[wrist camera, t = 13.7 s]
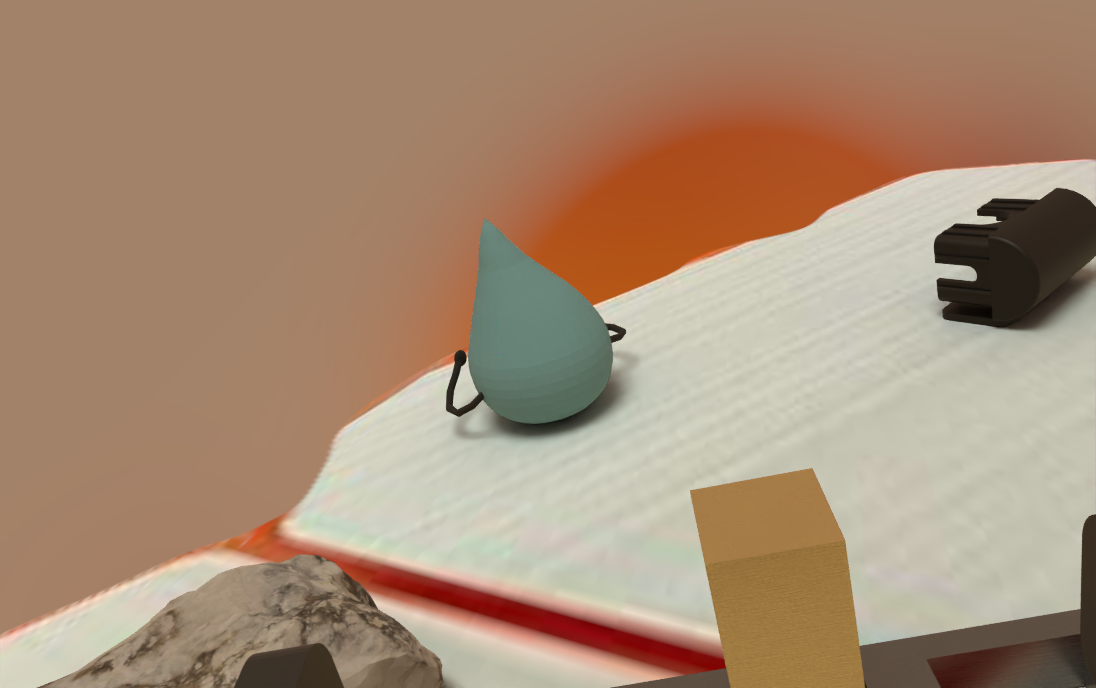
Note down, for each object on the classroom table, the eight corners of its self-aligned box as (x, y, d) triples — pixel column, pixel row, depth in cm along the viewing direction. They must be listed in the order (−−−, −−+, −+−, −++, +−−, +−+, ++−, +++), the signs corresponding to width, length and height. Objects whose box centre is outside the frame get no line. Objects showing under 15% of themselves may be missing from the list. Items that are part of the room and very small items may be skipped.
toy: (599, 348, 74) (557, 169, 68) (684, 385, 64) (644, 180, 59) (436, 422, 68) (376, 233, 63) (502, 475, 58) (438, 257, 53)
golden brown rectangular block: (764, 852, 31) (705, 564, 26) (745, 757, 34) (689, 490, 30) (885, 836, 30) (845, 540, 26) (852, 741, 34) (812, 468, 29)
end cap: (1040, 337, 59) (1037, 238, 56) (936, 322, 64) (928, 232, 62) (1106, 280, 64) (1106, 187, 61) (1005, 271, 69) (1000, 185, 67)
